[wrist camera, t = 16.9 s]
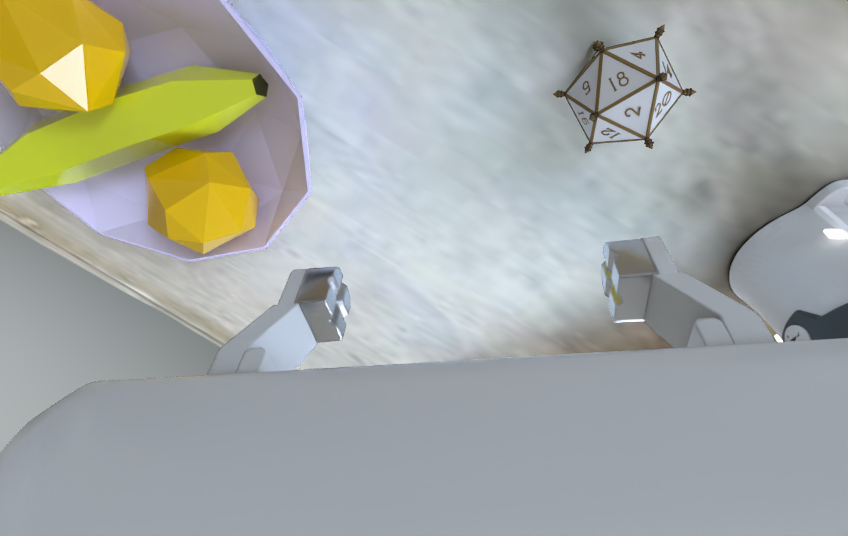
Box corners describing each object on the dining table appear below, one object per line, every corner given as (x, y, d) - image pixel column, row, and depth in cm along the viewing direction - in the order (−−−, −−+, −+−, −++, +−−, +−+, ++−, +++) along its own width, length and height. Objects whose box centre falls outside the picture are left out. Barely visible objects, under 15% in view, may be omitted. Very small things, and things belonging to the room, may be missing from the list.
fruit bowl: (308, -68, 34) (257, -37, 25) (332, 237, 52) (306, 314, 43) (-90, -102, 34) (-273, -83, 25) (72, 214, 52) (-4, 287, 43)
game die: (605, 33, 40) (693, -23, 31) (650, 123, 42) (747, 97, 32) (519, 90, 40) (581, 51, 30) (569, 179, 41) (642, 169, 32)
